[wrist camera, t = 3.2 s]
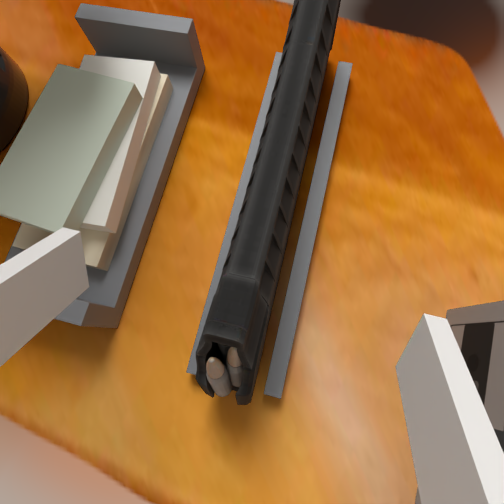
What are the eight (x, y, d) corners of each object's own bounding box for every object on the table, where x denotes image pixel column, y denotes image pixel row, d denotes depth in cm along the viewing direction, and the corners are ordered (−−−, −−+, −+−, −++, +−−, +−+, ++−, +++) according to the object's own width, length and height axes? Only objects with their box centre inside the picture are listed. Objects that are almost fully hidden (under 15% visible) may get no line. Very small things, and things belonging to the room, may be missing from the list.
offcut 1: (41, 221, 25) (26, 214, 24) (94, 70, 28) (84, 54, 27) (115, 233, 24) (105, 226, 23) (161, 76, 28) (154, 61, 26)
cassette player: (446, 309, 25) (556, 291, 15) (484, 320, 24) (622, 309, 15) (407, 546, 21) (517, 719, 12) (450, 562, 21) (602, 756, 11)
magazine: (310, -82, 23) (124, 306, 8) (357, -78, 23) (250, 338, 8) (287, 124, 38) (204, 398, 23) (315, 128, 38) (250, 411, 23)
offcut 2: (-4, 214, 24) (-23, 205, 22) (71, 79, 26) (58, 63, 25) (73, 240, 23) (58, 233, 21) (142, 98, 25) (134, 83, 24)
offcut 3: (27, 251, 26) (12, 246, 25) (101, 76, 30) (92, 62, 29) (107, 271, 25) (96, 266, 24) (173, 88, 29) (167, 74, 28)
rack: (-3, 316, 27) (-64, 311, 22) (114, 40, 33) (87, -11, 28) (280, 394, 24) (281, 409, 19) (348, 76, 30) (362, 26, 25)
